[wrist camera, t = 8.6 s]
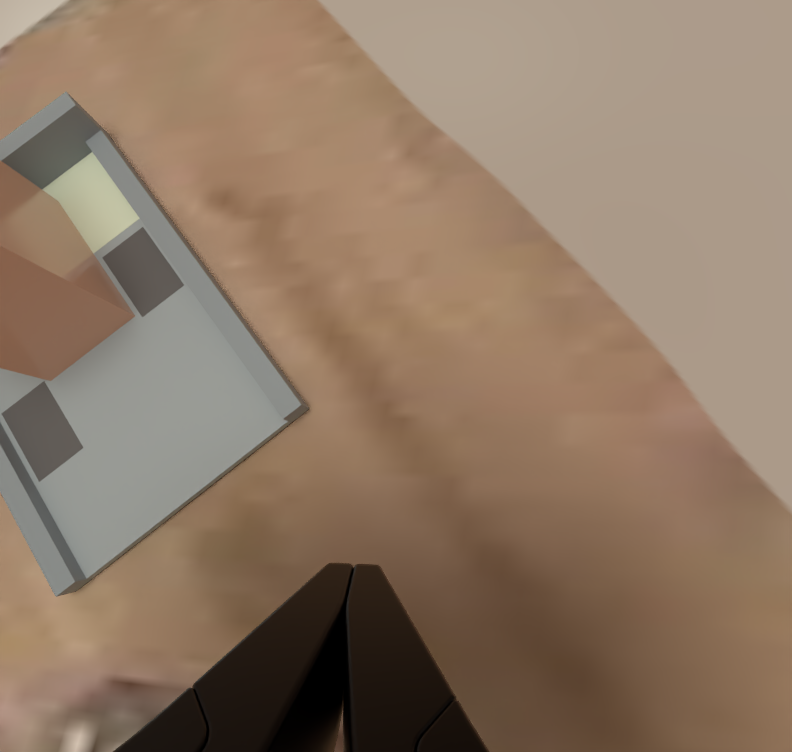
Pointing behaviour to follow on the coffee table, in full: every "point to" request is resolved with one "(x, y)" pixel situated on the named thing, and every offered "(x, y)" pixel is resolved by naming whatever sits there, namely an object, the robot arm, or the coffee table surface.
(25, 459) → the slate lane
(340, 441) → the coffee table surface
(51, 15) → the coffee table surface
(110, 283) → the terracotta block
